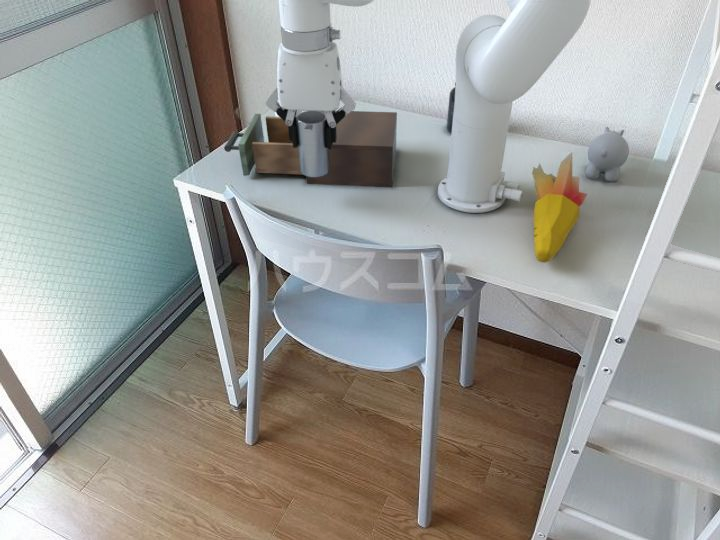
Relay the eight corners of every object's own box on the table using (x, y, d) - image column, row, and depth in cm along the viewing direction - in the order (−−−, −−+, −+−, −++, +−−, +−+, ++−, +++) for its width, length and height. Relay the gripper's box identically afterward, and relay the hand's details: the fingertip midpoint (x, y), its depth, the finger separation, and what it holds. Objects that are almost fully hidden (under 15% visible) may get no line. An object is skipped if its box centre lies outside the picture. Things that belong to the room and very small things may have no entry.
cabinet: (306, 183, 112) (303, 143, 107) (318, 147, 123) (315, 109, 118) (391, 187, 111) (392, 146, 105) (395, 150, 122) (396, 112, 117)
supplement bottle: (481, 135, 127) (489, 81, 119) (452, 138, 126) (457, 85, 118) (470, 121, 132) (476, 69, 124) (442, 124, 131) (446, 72, 123)
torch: (530, 286, 94) (548, 191, 110) (580, 279, 89) (592, 181, 105) (512, 249, 89) (534, 156, 105) (563, 241, 85) (578, 145, 101)
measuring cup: (303, 161, 105) (299, 109, 99) (331, 163, 105) (329, 110, 98) (296, 180, 100) (291, 126, 94) (326, 181, 100) (323, 127, 93)
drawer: (222, 174, 114) (216, 143, 109) (240, 142, 124) (235, 112, 120) (321, 178, 112) (319, 146, 108) (330, 145, 122) (329, 115, 118)
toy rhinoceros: (626, 159, 118) (638, 120, 112) (618, 187, 109) (631, 147, 104) (590, 152, 120) (600, 113, 115) (579, 179, 112) (589, 139, 107)
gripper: (364, 30, 90) (364, 136, 102) (257, 27, 92) (269, 133, 103) (359, 47, 85) (360, 157, 96) (245, 43, 86) (259, 153, 98)
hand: (313, 143), depth 100 cm, fingers closed on measuring cup, 5 cm apart
